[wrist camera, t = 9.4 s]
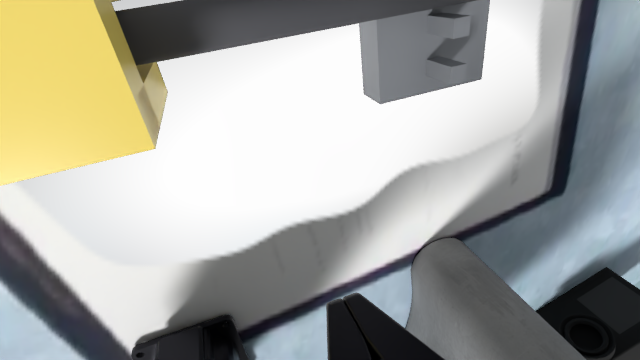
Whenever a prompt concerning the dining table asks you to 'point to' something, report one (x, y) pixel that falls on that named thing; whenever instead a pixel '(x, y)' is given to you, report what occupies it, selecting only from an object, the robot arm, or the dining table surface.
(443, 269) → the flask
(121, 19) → the dark grey rod
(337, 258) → the dining table surface
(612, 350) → the digital camera
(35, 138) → the sleeve
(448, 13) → the grey pronged block
